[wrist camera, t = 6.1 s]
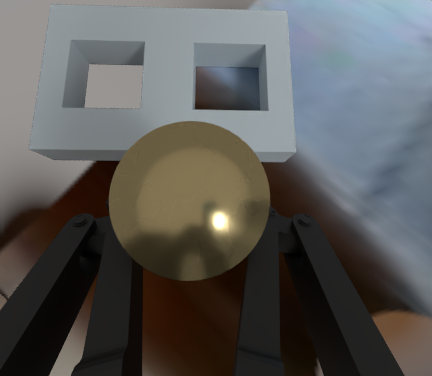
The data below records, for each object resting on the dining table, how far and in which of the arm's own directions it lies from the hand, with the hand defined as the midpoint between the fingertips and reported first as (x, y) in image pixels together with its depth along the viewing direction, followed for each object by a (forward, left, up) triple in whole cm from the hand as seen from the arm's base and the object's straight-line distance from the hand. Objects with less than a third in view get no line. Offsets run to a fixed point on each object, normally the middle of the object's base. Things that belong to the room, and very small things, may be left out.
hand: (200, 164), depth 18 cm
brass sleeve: (0, +4, -3) cm, 5 cm away
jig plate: (+3, -8, -3) cm, 9 cm away
